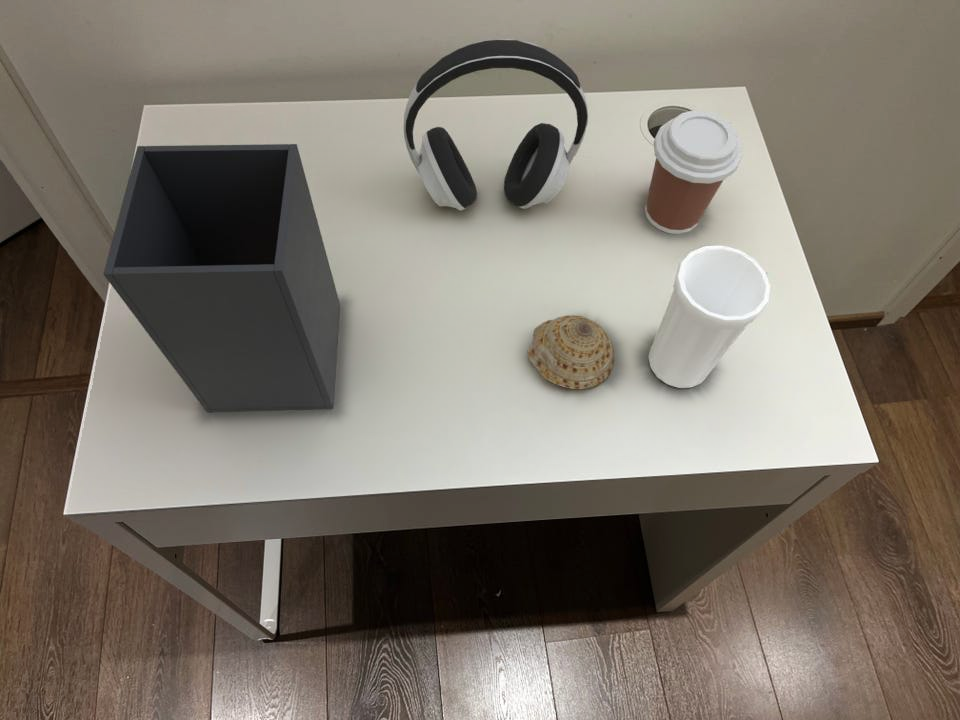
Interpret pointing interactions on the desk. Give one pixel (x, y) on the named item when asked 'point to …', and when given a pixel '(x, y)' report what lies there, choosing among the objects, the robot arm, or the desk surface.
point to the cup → (707, 313)
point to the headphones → (538, 154)
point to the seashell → (572, 352)
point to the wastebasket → (230, 274)
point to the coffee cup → (690, 168)
